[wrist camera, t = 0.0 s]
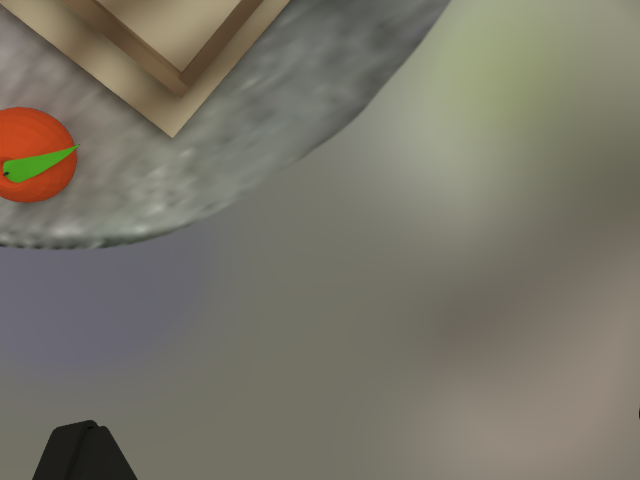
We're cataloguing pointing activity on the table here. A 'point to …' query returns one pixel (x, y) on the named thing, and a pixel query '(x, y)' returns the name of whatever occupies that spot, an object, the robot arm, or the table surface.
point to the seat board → (152, 46)
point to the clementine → (34, 155)
